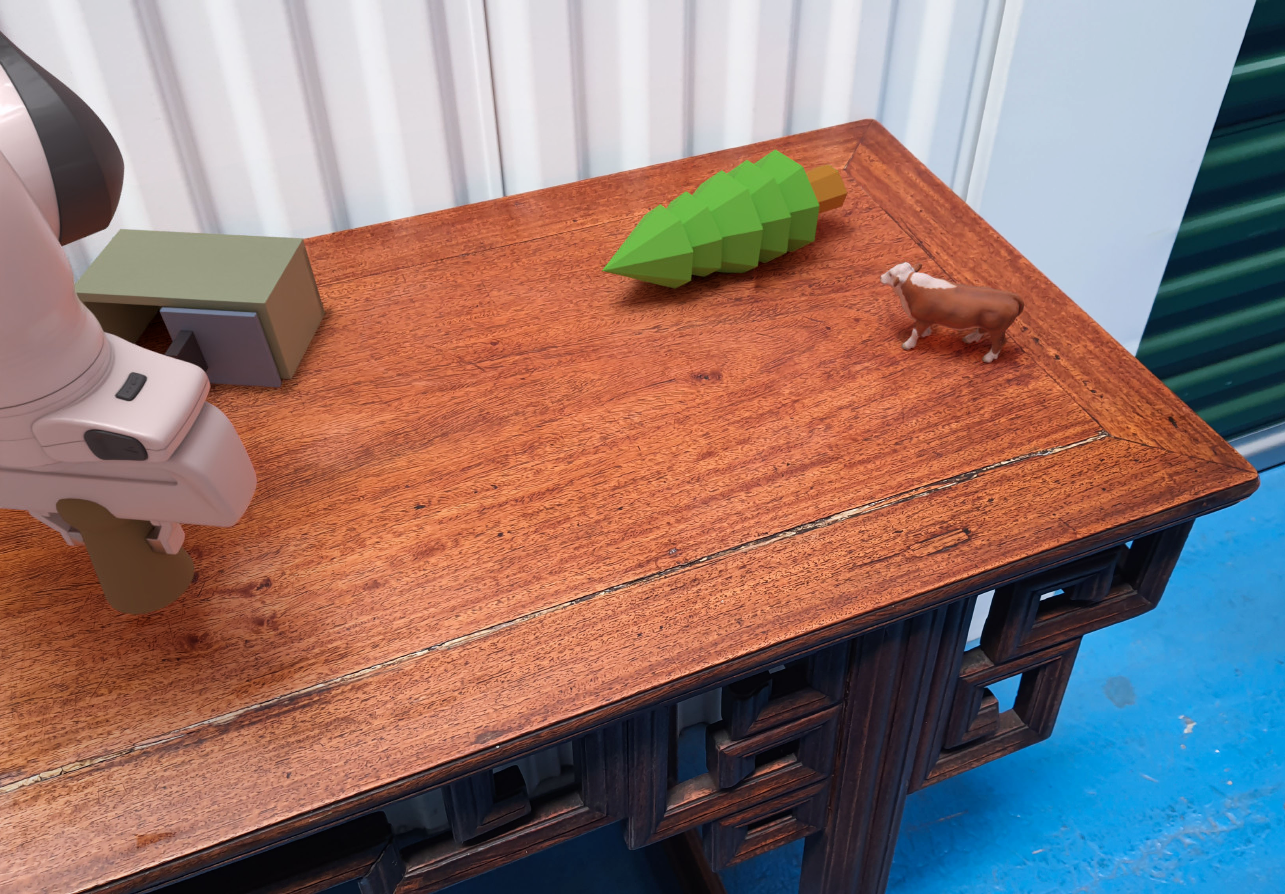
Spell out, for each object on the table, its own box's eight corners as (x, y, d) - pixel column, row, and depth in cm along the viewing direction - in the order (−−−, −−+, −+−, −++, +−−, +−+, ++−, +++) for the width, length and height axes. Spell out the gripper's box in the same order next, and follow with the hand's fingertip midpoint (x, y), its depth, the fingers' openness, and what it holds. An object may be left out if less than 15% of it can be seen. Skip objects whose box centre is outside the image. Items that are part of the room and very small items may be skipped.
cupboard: (104, 387, 94) (59, 302, 87) (157, 311, 102) (120, 228, 95) (288, 398, 93) (258, 313, 85) (327, 321, 101) (303, 238, 93)
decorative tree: (860, 133, 102) (619, 218, 89) (871, 241, 107) (644, 337, 94) (787, 132, 111) (559, 209, 98) (800, 232, 116) (584, 317, 103)
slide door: (175, 407, 90) (141, 335, 84) (193, 378, 93) (162, 307, 87) (266, 413, 90) (239, 341, 84) (282, 383, 93) (256, 312, 87)
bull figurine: (873, 316, 101) (887, 248, 95) (1009, 345, 97) (1032, 276, 92) (864, 342, 98) (878, 274, 92) (1005, 373, 95) (1028, 304, 89)
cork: (119, 629, 68) (50, 526, 60) (94, 571, 71) (26, 466, 63) (206, 586, 70) (152, 482, 62) (178, 532, 73) (123, 427, 66)
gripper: (-163, 418, 56) (-43, 566, 66) (187, 445, 55) (255, 593, 65) (-95, 346, 60) (8, 495, 70) (231, 370, 59) (288, 518, 69)
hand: (129, 542), depth 68 cm, fingers closed on cork, 4 cm apart
